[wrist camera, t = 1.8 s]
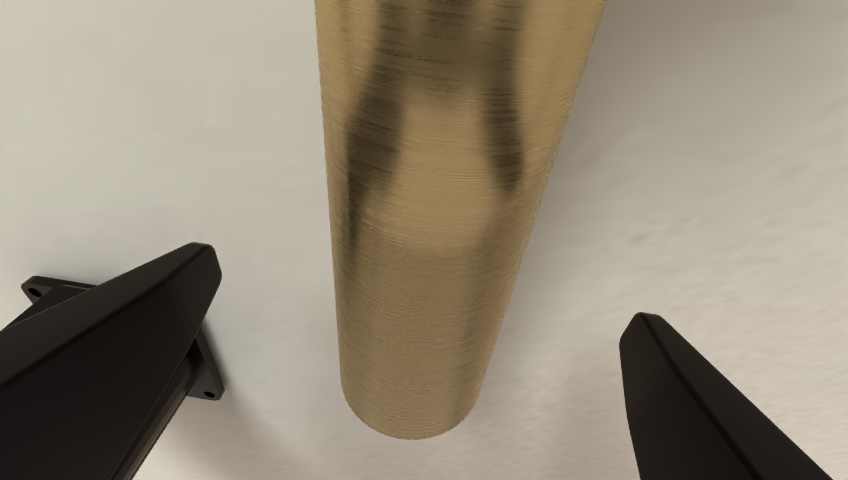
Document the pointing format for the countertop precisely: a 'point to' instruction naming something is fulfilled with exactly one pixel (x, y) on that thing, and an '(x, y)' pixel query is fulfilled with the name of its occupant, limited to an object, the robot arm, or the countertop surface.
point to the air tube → (436, 185)
